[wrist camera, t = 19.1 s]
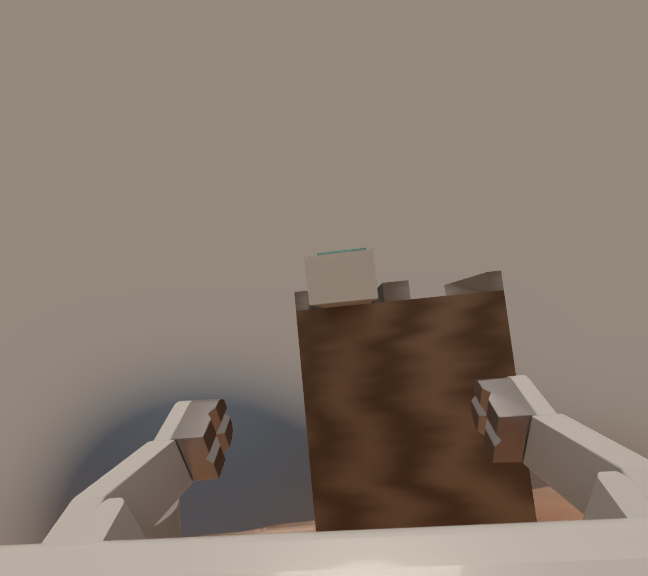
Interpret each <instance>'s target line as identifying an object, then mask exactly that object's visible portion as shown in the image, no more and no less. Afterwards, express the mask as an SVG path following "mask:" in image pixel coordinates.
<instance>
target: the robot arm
mask: <svg viewBox="0 0 648 576" xmlns="http://www.w3.org/2000/svg"><path fill="white" fill-rule="evenodd" d="M472 390H473V392H474V394H475V397H474V398H473V399H472V400H471V412H472V418H473V421H474V424H475V426H476V429H477V431H478V432H480V433H481V434H482V435H484V446H485V448H486V450H487V452H488V454H489V456H490V458H491V460H492V462H493V463H502V462H523V464H524V465H526V466H527V467H528V468H529V469H530V470H532V471H533V472H534V473H535V474H536V475H538V476H539V477H540V478H541V479H543V480H544V481H545V482H546V483H547V484H548V485H549V486H551V487H552V488H553V489H554V490H555V491H557V492H558V493H559V494H560V495H561V496H562V497H564V498H565V499H566V500H567V501H568V502H570V503H571V504H572V505H573V506H574V507H576V508H577V509H578V510H579V511H580V512H581V513H583V514H584V517H583V520H572V521H549V522H526V523H503V524H480V525H458V526H436V527H414V528H392V529H368V530H345V531H322V532H298V533H275V534H252V535H229V536H206V537H184V538H161V539H147V538H146V537H145V536H146V535H147V534H148V533H149V531H150V530H151V529H152V528H153V527H154V526H155V525H156V523H157V522H158V521H159V520H160V519H161V518H162V517H163V516H164V514H165V513H166V512H167V511H168V510H169V509H170V508H171V506H172V505H173V504H174V503H175V502H176V501H177V500H178V499H179V497H180V496H181V495H182V494H183V493H184V492H185V491H186V489H187V488H188V487H189V486H190V485H191V484H192V483H193V481H195V480H206V479H218V478H219V477H220V474H221V470H222V468H223V465H224V462H225V457H224V454H223V453H224V452H225V451H226V450H227V449H228V448H229V447H230V443H231V440H232V431H233V429H232V422H231V419H230V417H229V416H227V415H226V414H225V411H226V408H227V407H226V404H225V401H224V400H222V399H211V400H193V401H179V402H178V403H176V404H175V405H174V407H173V409H172V410H171V412H170V414H169V415H168V417H167V419H166V421H165V422H164V424H163V426H162V427H161V429H160V431H159V432H158V434H157V436H156V438H155V439H154V441H150V442H148V443H146V444H145V445H144V446H142V447H141V448H140V449H139V450H137V451H136V452H134V453H133V454H132V455H130V456H129V457H128V458H127V459H125V460H124V461H123V462H121V463H120V464H119V465H117V466H116V467H115V468H113V469H112V470H111V471H109V472H108V473H107V474H105V475H104V476H103V477H101V478H100V479H99V480H98V481H96V482H95V483H93V484H92V485H91V486H89V487H88V488H87V489H86V490H85V491H83V492H82V493H80V494H79V495H78V496H76V497H75V498H74V499H73V500H72V501H71V503H70V504H69V505H68V507H67V508H66V510H65V511H64V512H63V514H62V515H61V517H60V518H59V520H58V521H57V522H56V524H55V525H54V527H53V528H52V529H51V531H50V532H49V534H48V535H47V536H46V538H45V539H44V541H43V542H42V544H24V545H1V546H0V576H648V459H646V458H644V457H642V456H640V455H638V454H636V453H634V452H633V451H631V450H629V449H627V448H625V447H623V446H621V445H619V444H618V443H616V442H614V441H612V440H610V439H608V438H607V437H605V436H603V435H601V434H599V433H597V432H595V431H593V430H592V429H590V428H588V427H586V426H584V425H582V424H580V423H578V422H576V421H575V420H573V419H571V418H569V417H567V416H565V415H564V414H557V413H556V412H555V411H554V410H553V408H552V407H551V406H550V405H549V403H548V402H547V401H546V400H545V398H544V397H543V396H542V394H541V393H540V392H539V391H538V389H537V388H536V387H535V386H534V384H533V383H532V382H531V381H530V379H529V378H528V377H527V376H525V375H520V376H509V377H499V378H488V379H476V380H474V382H473V387H472Z"/></svg>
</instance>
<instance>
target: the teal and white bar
mask: <svg viewBox="0 0 648 576" xmlns="http://www.w3.org/2000/svg"><path fill="white" fill-rule="evenodd" d="M305 266H306V276H307V287H308V298H309V305H311V306H316V307H322V308H330V307H340V306H350V305H360V304H370V303H372V302H373V301H374V300H376V299H378V291H377V282H376V273H375V264H374V255H373V249H370V250H366V248H360V249H351V250H343V251H334V252H326V253H317V255H316V256H308V257H305Z"/></svg>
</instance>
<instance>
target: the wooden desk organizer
mask: <svg viewBox="0 0 648 576" xmlns="http://www.w3.org/2000/svg"><path fill="white" fill-rule="evenodd" d="M377 291H378V299H376V300H374V301H373V302H372V303H370V304H360V305H350V306H340V307H330V308H322V307H316V306H311V305H309V298H308V291H301V292H295V304H296V315H297V326H298V337H299V348H300V359H301V370H302V381H303V392H304V403H305V413H306V425H307V436H308V446H309V458H310V468H311V480H312V492H313V503H314V514H315V525H316V532H322V531H345V530H368V529H392V528H414V527H436V526H458V525H480V524H503V523H526V522H537V521H536V514H535V507H534V500H533V493H532V486H531V479H530V471H529V468H528V467H527V466H526V465H524V464H523V462H502V463H493V462H492V460H491V458H490V456H489V454H488V452H487V450H486V448H485V446H484V435H482V434H481V433H480V432H478V431H477V429H476V426H475V424H474V421H473V418H472V412H471V400H472V399H473V398H474V397H475V394H474V392H473V390H472V387H473V382H474V380H476V379H488V378H499V377H509V376H516V373H515V366H514V359H513V352H512V345H511V339H510V331H509V324H508V317H507V310H506V303H505V296H504V289H503V282H502V275H501V271H493V272H486V273H483V274H479V275H476V276H473V277H470V278H466V279H463V280H460V281H457V282H453V283H450V284H447V285H445V293H446V296H440V297H431V298H420V299H410V291H409V282H408V281H397V282H387V283H382V284H381V285H380V286H379V287H378V288H377Z"/></svg>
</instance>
